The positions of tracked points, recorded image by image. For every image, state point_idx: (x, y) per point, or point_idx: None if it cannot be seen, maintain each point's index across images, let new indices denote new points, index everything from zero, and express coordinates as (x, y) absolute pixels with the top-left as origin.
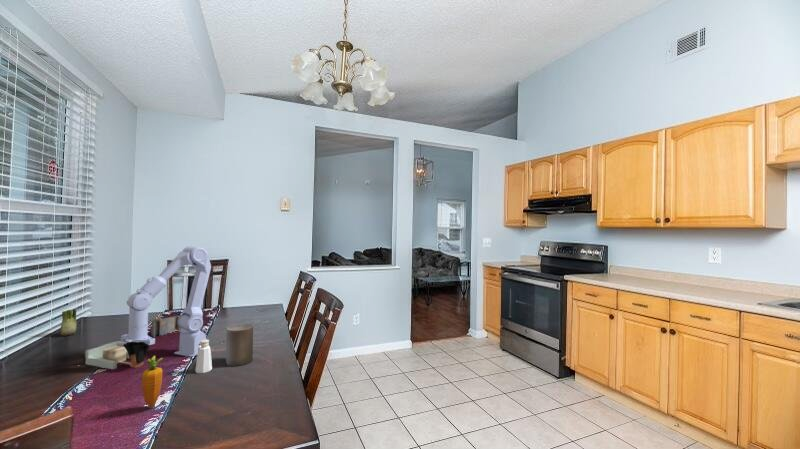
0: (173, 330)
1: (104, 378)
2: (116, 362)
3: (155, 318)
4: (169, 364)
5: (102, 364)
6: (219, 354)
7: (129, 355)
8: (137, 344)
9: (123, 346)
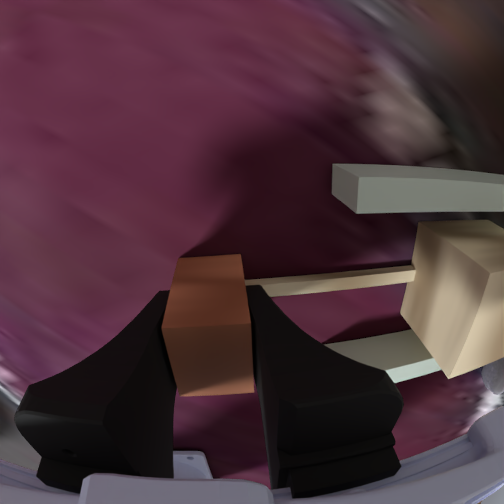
0: None
1: (192, 12)
2: (352, 207)
3: (479, 502)
4: (55, 368)
5: (456, 173)
6: (40, 460)
7: (272, 314)
8: (105, 459)
9: (500, 372)
